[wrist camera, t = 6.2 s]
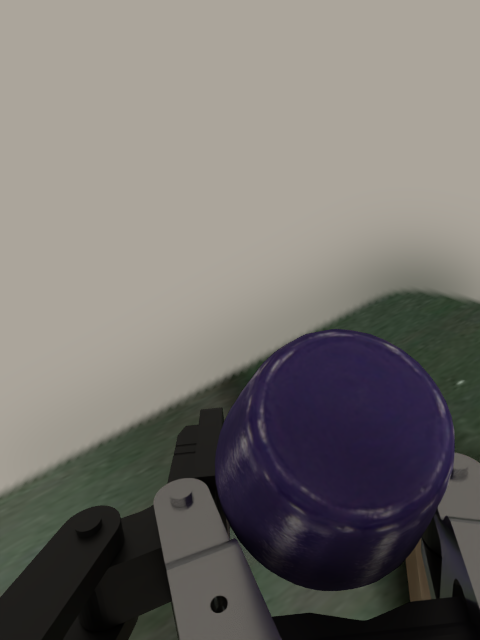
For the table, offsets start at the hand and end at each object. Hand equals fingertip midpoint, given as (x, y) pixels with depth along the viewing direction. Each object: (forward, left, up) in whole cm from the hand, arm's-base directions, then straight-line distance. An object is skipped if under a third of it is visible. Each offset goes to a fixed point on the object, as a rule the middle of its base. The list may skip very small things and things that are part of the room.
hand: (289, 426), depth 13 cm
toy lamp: (0, +2, -9) cm, 9 cm away
